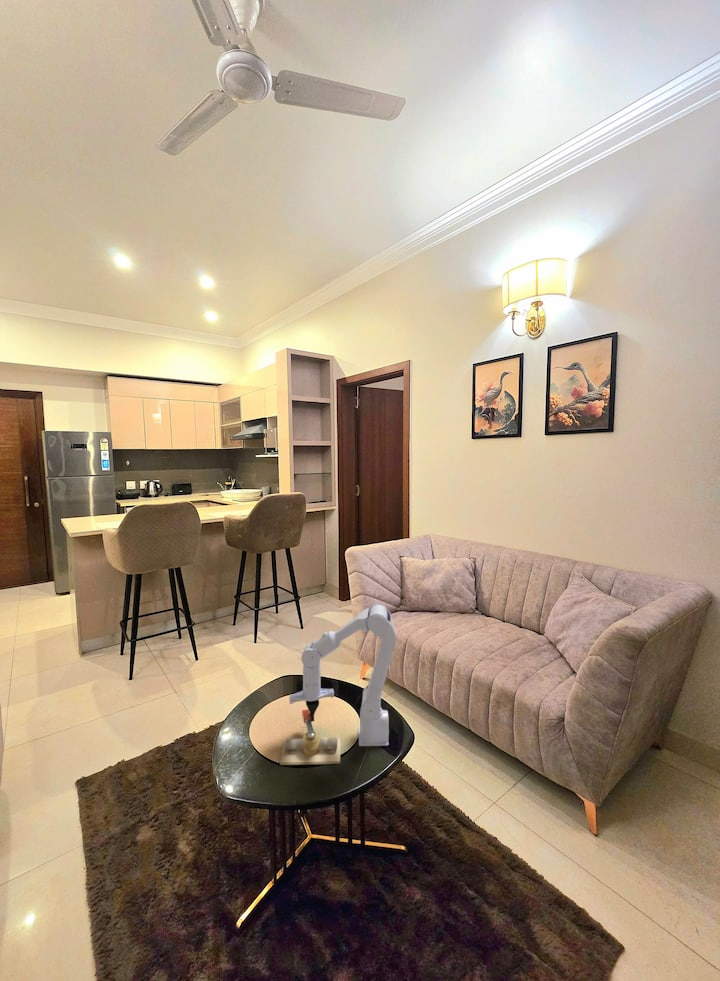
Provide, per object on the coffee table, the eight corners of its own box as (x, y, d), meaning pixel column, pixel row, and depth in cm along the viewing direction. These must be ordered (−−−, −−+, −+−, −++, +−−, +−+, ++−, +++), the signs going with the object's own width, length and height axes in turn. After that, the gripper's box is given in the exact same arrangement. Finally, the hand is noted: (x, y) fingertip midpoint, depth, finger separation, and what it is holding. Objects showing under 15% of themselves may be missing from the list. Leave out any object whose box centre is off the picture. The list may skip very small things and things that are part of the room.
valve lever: (315, 739, 124) (316, 733, 123) (308, 740, 123) (308, 735, 123) (308, 714, 135) (308, 709, 135) (301, 715, 134) (301, 710, 134)
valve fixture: (340, 739, 130) (340, 726, 130) (340, 763, 120) (340, 748, 120) (284, 740, 129) (284, 726, 129) (279, 764, 119) (279, 749, 119)
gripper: (331, 671, 137) (331, 708, 138) (288, 677, 133) (288, 715, 135) (335, 682, 130) (335, 721, 132) (290, 689, 127) (290, 729, 128)
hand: (311, 719), depth 133 cm, fingers closed, pressing on valve lever
